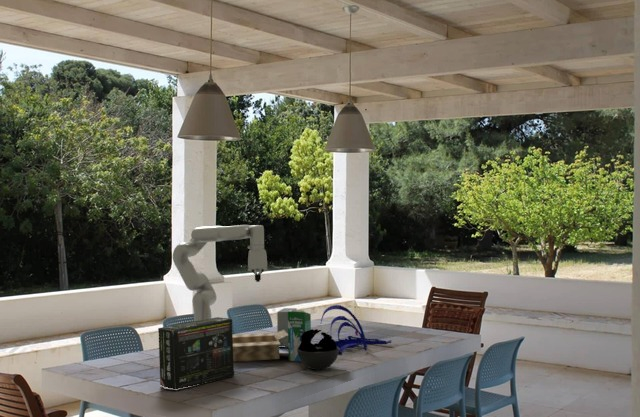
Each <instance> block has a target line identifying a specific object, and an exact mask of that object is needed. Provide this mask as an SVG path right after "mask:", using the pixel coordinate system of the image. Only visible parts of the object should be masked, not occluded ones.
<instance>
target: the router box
mask: <svg viewBox="0 0 640 417" xmlns="http://www.w3.org/2000/svg"><path fill="white" fill-rule="evenodd" d="M157 331H158V354H159V358H158V359H159V379H160V380H159V382H160V383H159V384H160V385H162V386H164V387H168V388H173V389H178V388H183V387H188V386H193V385H197V384H202V383H205V382H210V381H213V382H215V381H214V380H217V381H220V380H219V379H221V380H224V378H225V379H228V378H231V377H234V376H235V365H234V363H235V362H233V336H232V335H233V319H232V318H227V317H219V316H217V317H213V318H212V317H211V319H205V320H200V321H194V320H193V321H189V322H184V323H178V324H173V325H168V326H162V327H158V329H157ZM210 383H211V382H210ZM202 385H203V384H202Z"/></svg>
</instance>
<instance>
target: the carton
mask: <svg viewBox="0 0 640 417" xmlns="http://www.w3.org/2000/svg"><path fill="white" fill-rule="evenodd" d="M232 336H233V362H234V363H235V362H249V361H250V362H252V361H267V360H268V361H269V360H280V348H279V345H281V344H280V342H279V340H278V339H277V337H276V336H275V333H273V332H266V333H264V332H263V333H244V334H243V333H242V334H232Z"/></svg>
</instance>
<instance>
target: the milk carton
mask: <svg viewBox="0 0 640 417" xmlns="http://www.w3.org/2000/svg"><path fill="white" fill-rule="evenodd" d="M311 315H312V314H311V313H309V312H305V310H303V309H300V310H299V309H297V312H290V311H288V348H287V350H288V362H302V361H301V360H300V358H299V356H298V352H297V348H298V347H299V345H300V344H301V336H302V335H303V333H304V332H305V331H308V330H311V329H312V323H311V322H312V321H311Z"/></svg>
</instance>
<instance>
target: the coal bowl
mask: <svg viewBox="0 0 640 417" xmlns="http://www.w3.org/2000/svg"><path fill="white" fill-rule="evenodd" d="M319 333H320V335H322V337H321V339H319V342H316V343H312V340H313V339H314V337H315V336H316V335H317V334H319ZM335 341H336V340H334V339H333V337H332V335H331V334H329V333H326V332H324V331H322V329H318V328H317V329H316V328H315V329H313V328H311V330H308V331H305V332H304V333H303V335H302V336H301V344H300V345H299V347H298V348H297V352H298V356H299V358H300V360H301V361H300V362H301V363H302V364H304V365H305V367H308V368H309V369H311V370H317V371H319V370H320V371H321V370H324V369H327V368H330V367H331V366H332V365H333V364H334V363H335V361H336V360H337V358H338V356H339V354H338V353H339V349H340V348H339V347H337V346H336V344H335Z"/></svg>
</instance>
